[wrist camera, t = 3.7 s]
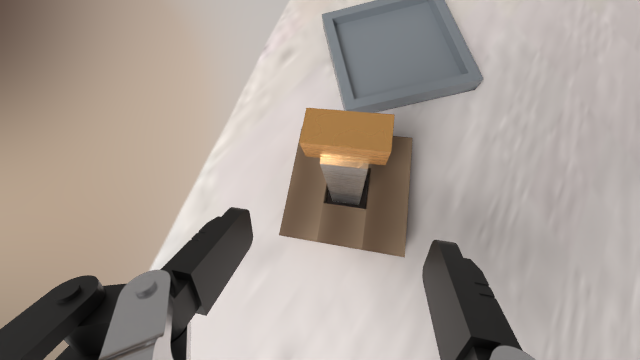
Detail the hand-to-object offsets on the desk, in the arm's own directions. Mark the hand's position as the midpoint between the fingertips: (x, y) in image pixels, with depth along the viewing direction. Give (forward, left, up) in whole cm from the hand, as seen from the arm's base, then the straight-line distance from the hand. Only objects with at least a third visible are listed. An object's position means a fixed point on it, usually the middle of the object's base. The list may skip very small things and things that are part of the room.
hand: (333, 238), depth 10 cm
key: (-2, -4, -10) cm, 11 cm away
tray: (-10, -18, -10) cm, 23 cm away
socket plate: (-2, -4, -10) cm, 11 cm away
